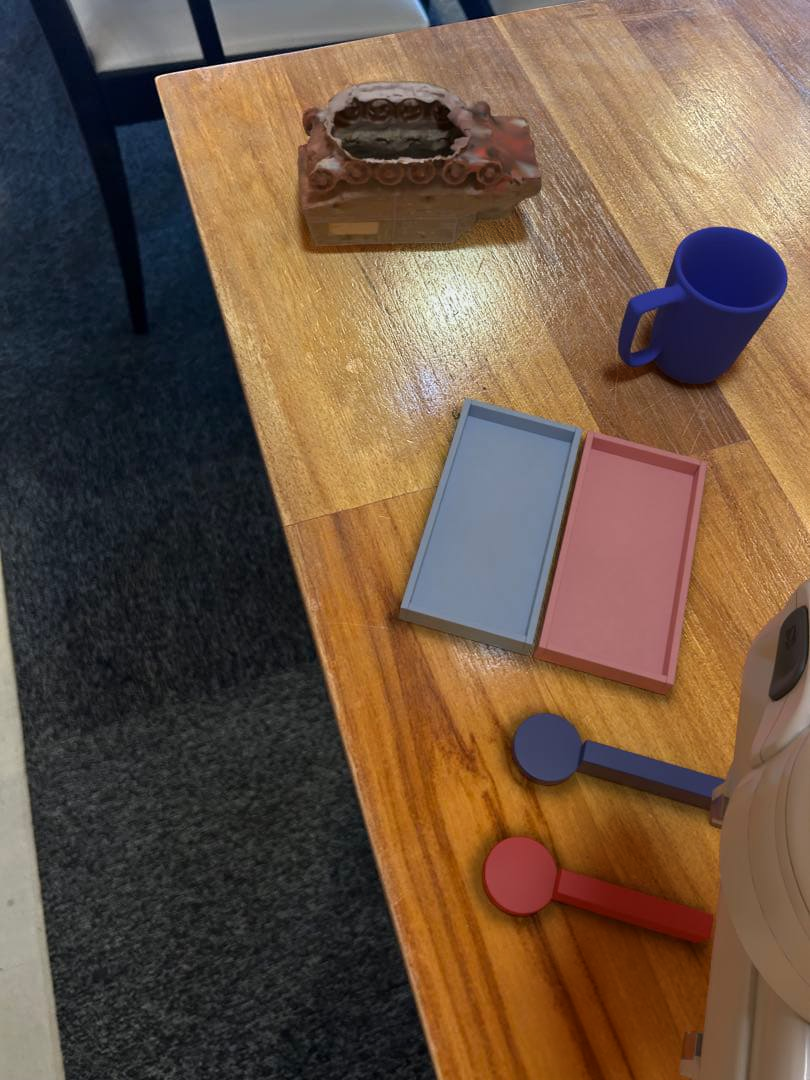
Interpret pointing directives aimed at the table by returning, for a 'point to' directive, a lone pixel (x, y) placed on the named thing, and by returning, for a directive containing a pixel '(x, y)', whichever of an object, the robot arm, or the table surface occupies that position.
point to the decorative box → (410, 165)
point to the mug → (706, 304)
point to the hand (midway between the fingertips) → (715, 929)
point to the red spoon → (579, 892)
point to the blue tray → (493, 527)
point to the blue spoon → (601, 762)
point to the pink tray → (624, 563)
